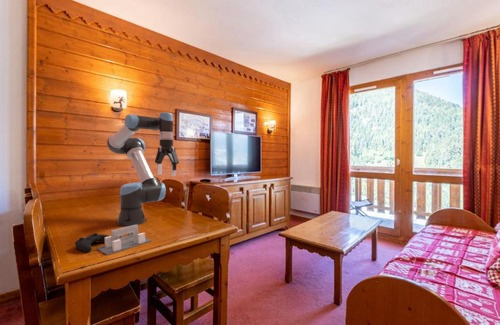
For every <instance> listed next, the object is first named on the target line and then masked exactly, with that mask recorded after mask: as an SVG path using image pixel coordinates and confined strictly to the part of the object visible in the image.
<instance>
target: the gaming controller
mask: <svg viewBox="0 0 500 325" xmlns="http://www.w3.org/2000/svg"><path fill="white" fill-rule="evenodd" d="M109 236H110V235H109V234H99V233H98V232H97V233H96V232H95V233H92V234H90V235H87V236H85V237H79V238H78V239H77V240H76V241H75V243H74V245H75V249H76V250H81V251H82V252H83V253H90V252H91V251H92V244H95V243H97V242H99V243H104V244H105V237H109Z"/></svg>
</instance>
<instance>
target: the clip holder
mask: <svg viewBox="0 0 500 325" xmlns="http://www.w3.org/2000/svg"><path fill="white" fill-rule="evenodd" d="M108 236H109V237H105V243H104V246H103V245H102V246H100V247H97V248H96V250H97V251H99V252H100V253H102V254H104V255H106V256H109V255H113V254H116V253H119V252H122V251H125V250H129V249H131V248H134V247H138V246H141V245H143V244H144V245H145V244H147V243H150V242H152V241H153V240H152V239H150V238H147V237H146V232H141V233H138V234H137V241H135V242H133V243H129V244H126V245H123V246H121V240H120V239H118V240H114V241H112V247H111V235H108Z"/></svg>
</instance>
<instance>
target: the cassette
mask: <svg viewBox="0 0 500 325" xmlns="http://www.w3.org/2000/svg"><path fill="white" fill-rule="evenodd" d="M126 234H127V235H126ZM137 234H139V224H136V225H130V226H123V227H120V228H117V229H112V230H111V231H110V236H111V247H112V241H114V240H118V239H120V240H121V246H123V245H126V244H129V243H133V242H135V241H137Z"/></svg>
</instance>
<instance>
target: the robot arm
mask: <svg viewBox="0 0 500 325" xmlns="http://www.w3.org/2000/svg"><path fill="white" fill-rule="evenodd" d="M139 130H152V131H157V132H158V131H159V146H160V147H157V153H156V156H155V160H154V163H156V166H157V168H156V170H157V176H160V175H163V160H164V159H165V156H167V157H168V158H169V160H170V163H171V165H170V169H171V170H170V172H171V173H170V174H171V175H170V176H171V177H176V176H177V165H178V164H180V161H179V158H178V155H177V152H176V147H173V146H174V140H173V139H174V115H173V114H172V113H171V112H160V113H159V116H158V117H153V116H145V115H136V114H127V115H126V116H125V118H124V124H123V125H122V127H120V128H119V129H118V131H116V133H114V134H112V135H110V136H109V137H108V138H107V141H106V147H107V148H108V150H110V151H111V152H112V153H115V154H116V155H117V154H118V155H126V157H127V159H130V160H131V163H132V165H133V168H134V169H135V172H136V174H137V177H138V179H139V181H140V182H139V181H138V182H137V181H136V182H129V183H125V184H123V185H122V186H120V190H119V202H120V203H119V204H120V206H119V208H120V210H119V214H118V217H117V219H116V220H117V221H116V225H118V226H121V227H128V226H132V225H136V224H137V225H141V224H143V223H145V222H146V217H145V213H144V211H143V204H147V203H154V202H159V201H162V200H163V199H164V198H165V197H166V191H167V190H166V188H167V187H166V185H165V183H164V182H160V181H159V179H157V177H154V174H153V172H152V170H151V168H150V166H149V164H148V161H147V159H146V156H144V154H145V151H146V144H145V141H144V140H143V139H141V138H139V137H132V136H134V134H136V133H137V132H138V131H139Z"/></svg>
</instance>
